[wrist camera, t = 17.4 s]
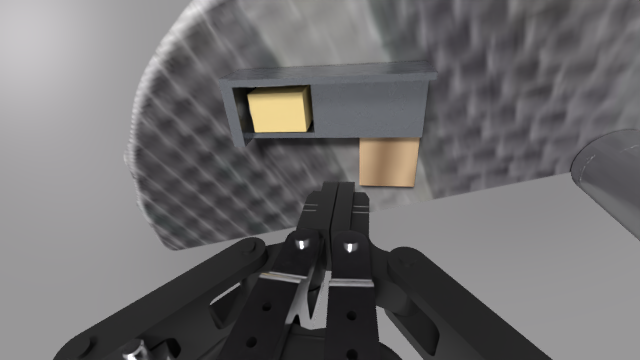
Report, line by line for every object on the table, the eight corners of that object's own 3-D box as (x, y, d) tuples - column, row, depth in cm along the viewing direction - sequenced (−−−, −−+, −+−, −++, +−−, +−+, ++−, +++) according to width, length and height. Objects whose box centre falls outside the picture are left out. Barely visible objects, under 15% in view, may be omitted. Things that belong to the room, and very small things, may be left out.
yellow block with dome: (302, 92, 34) (242, 94, 35) (306, 131, 37) (250, 132, 38) (309, 82, 38) (256, 85, 39) (313, 118, 41) (263, 119, 42)
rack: (426, 60, 34) (437, 72, 29) (418, 128, 39) (426, 150, 33) (238, 69, 39) (214, 81, 33) (250, 130, 43) (231, 150, 37)
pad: (418, 132, 39) (419, 136, 38) (412, 181, 43) (413, 186, 42) (360, 132, 41) (359, 136, 39) (359, 180, 45) (359, 185, 43)
